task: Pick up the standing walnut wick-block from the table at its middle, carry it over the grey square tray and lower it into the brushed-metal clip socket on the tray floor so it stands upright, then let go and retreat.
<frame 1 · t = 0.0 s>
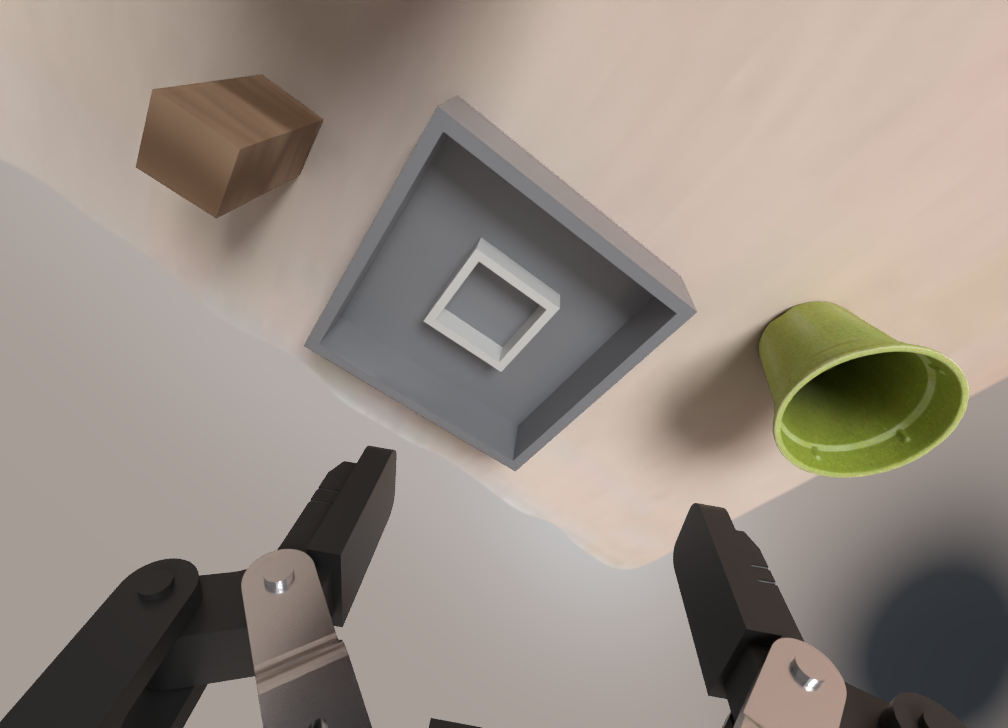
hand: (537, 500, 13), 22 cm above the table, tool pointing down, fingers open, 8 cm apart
grey square tray: (495, 295, 35), on the table
plant pot: (803, 336, 34), on the table
wood wick: (281, 127, 30), on the table
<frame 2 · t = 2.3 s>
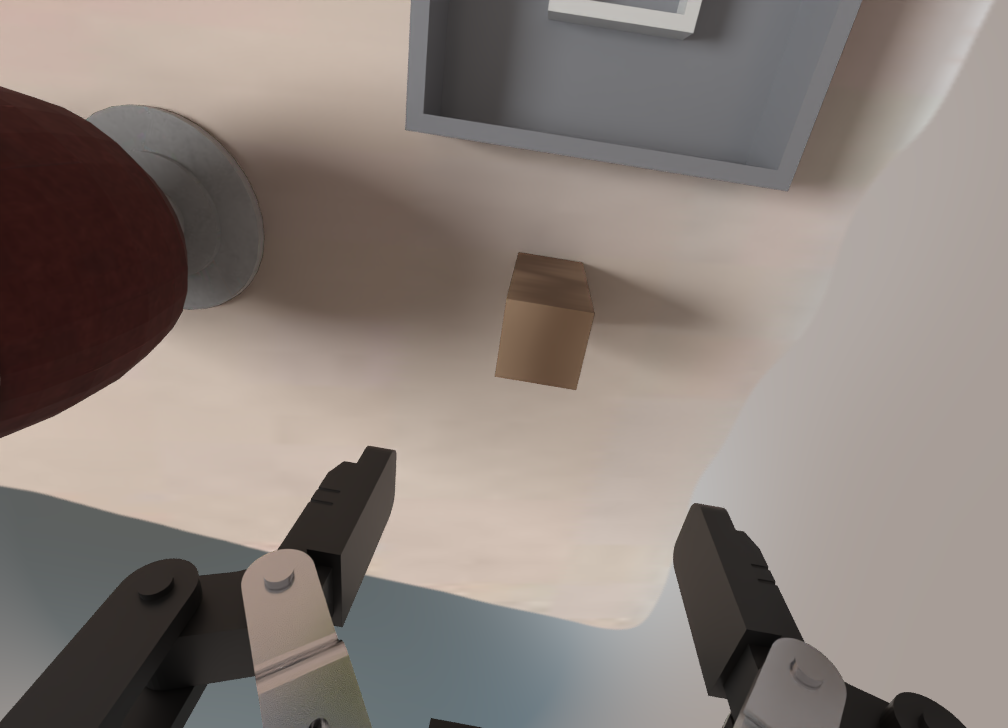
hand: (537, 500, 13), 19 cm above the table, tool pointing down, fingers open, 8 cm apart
mate gourd: (177, 226, 31), on the table
wood wick: (544, 288, 30), on the table
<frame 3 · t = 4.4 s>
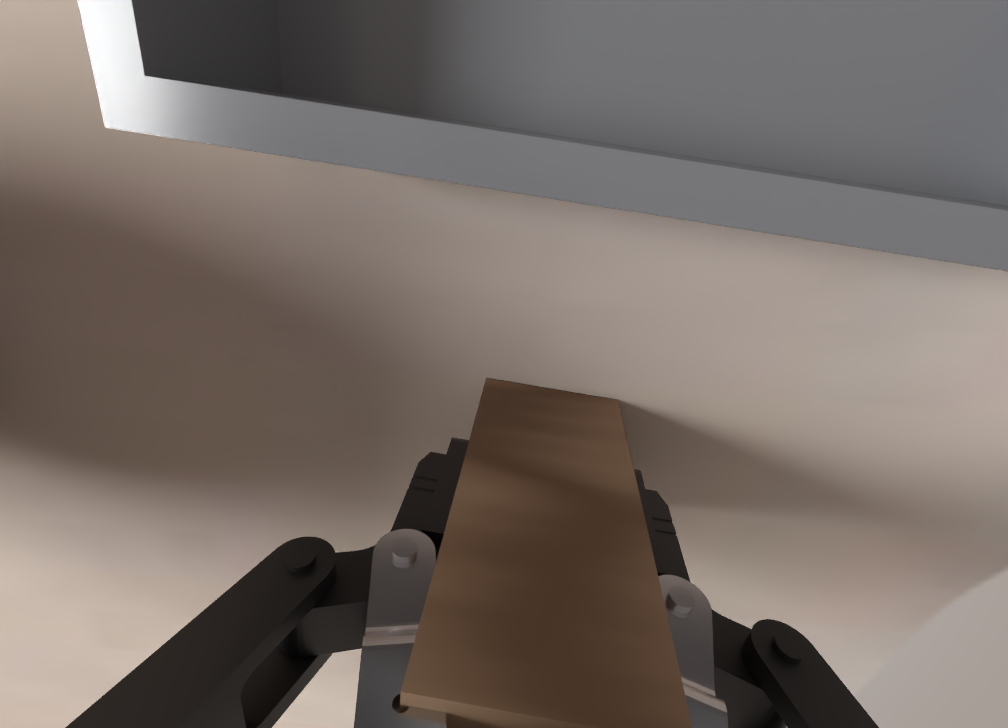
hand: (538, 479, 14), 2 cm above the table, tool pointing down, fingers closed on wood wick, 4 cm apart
wood wick: (540, 442, 15), on the table, touching gripper
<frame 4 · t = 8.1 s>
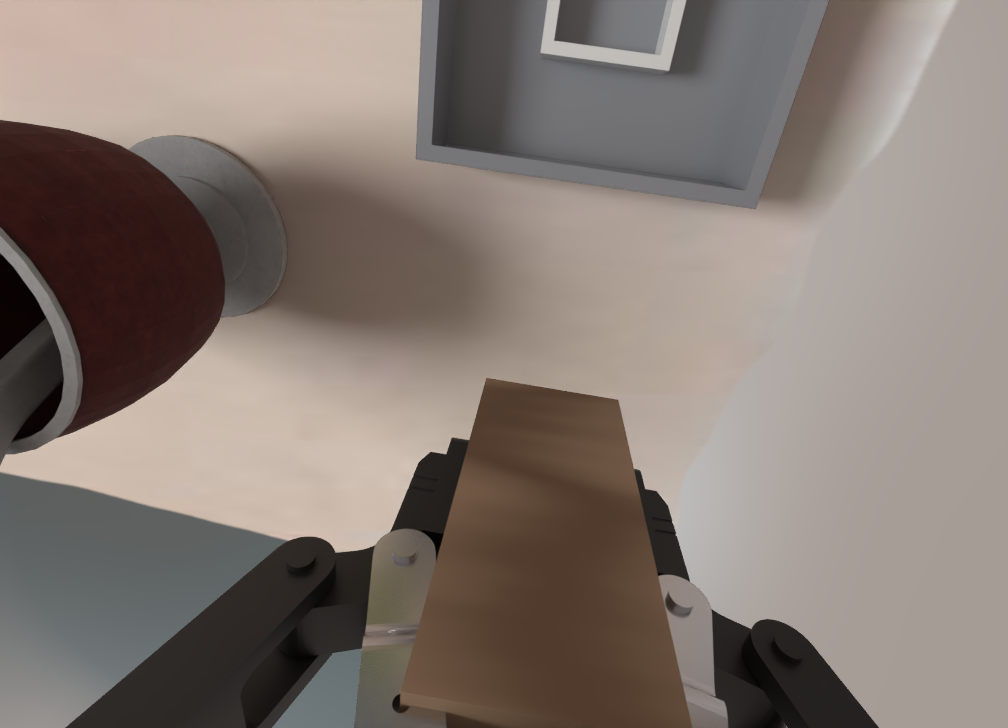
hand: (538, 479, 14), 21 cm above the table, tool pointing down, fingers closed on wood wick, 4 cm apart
mate gourd: (209, 242, 34), on the table
wood wick: (540, 442, 15), point 19 cm above the table, touching gripper
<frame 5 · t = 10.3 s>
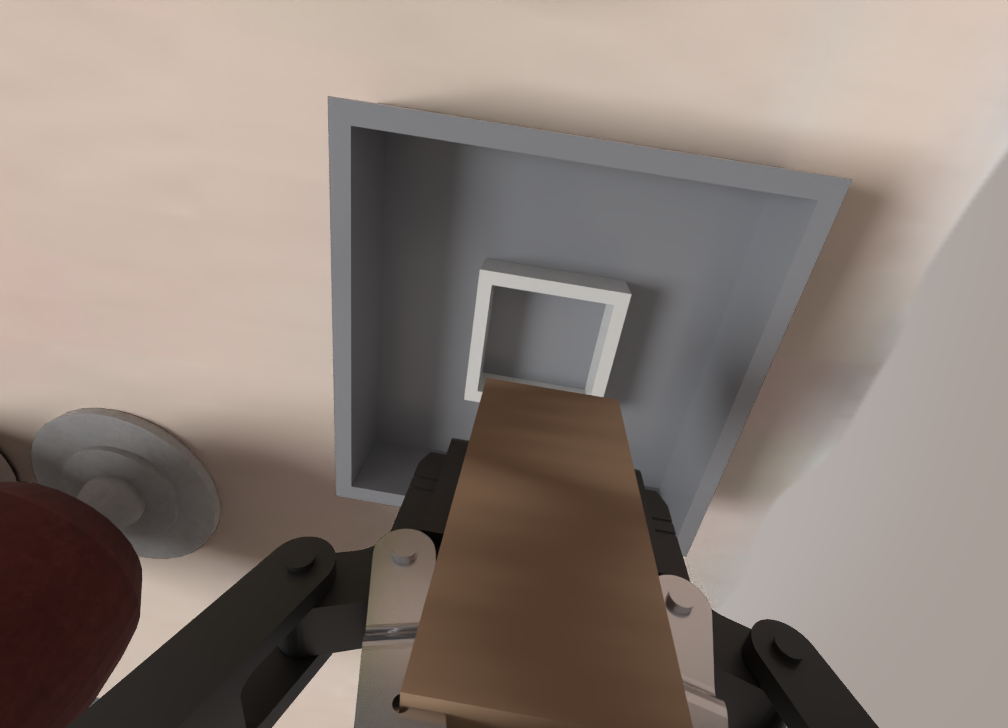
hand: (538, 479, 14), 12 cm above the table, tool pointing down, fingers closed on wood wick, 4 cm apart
grey square tray: (543, 326, 25), on the table
mate gourd: (139, 492, 33), on the table
wood wick: (540, 442, 15), point 11 cm above the table, touching gripper
when the fingers open (4 cm above the table, at t = 12.1 s): wood wick stays where it is, resting on grey square tray.
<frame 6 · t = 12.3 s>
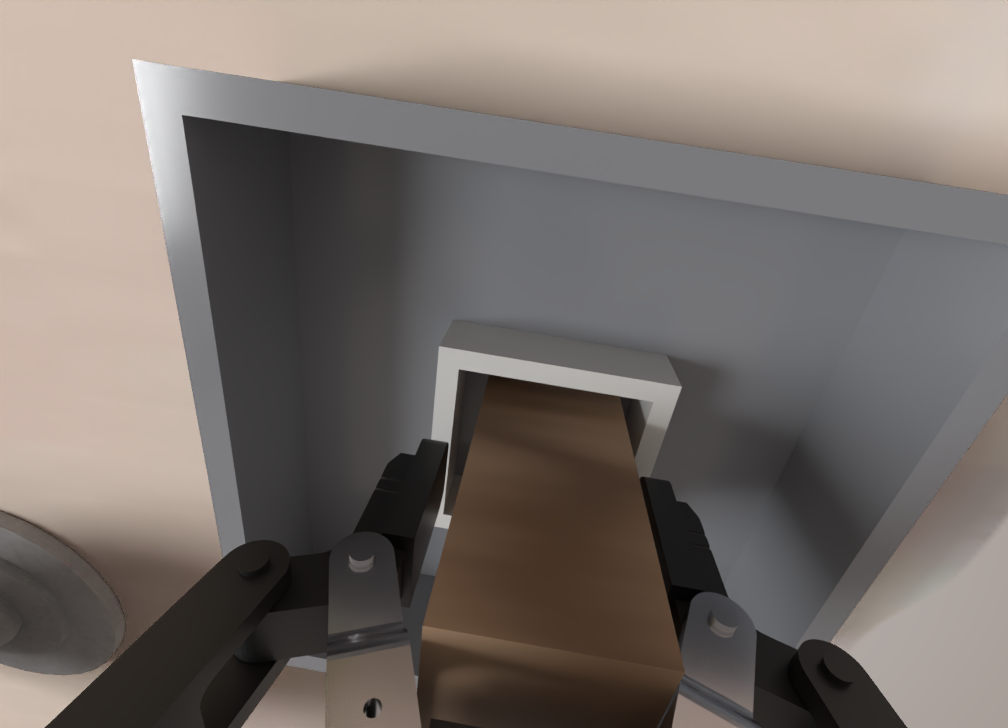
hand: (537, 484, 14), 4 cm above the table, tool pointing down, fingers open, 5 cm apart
grey square tray: (541, 410, 17), on the table
mate gourd: (22, 597, 26), on the table
wood wick: (543, 425, 16), point 1 cm above the table, touching grey square tray
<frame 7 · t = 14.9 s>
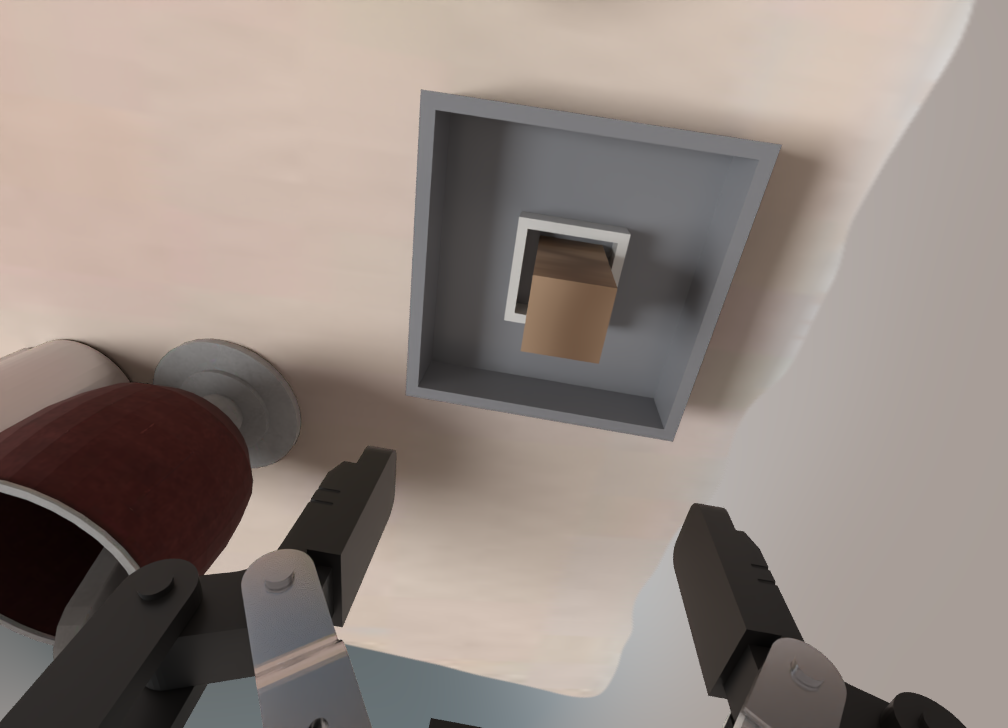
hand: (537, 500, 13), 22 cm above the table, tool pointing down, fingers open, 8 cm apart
grey square tray: (563, 266, 32), on the table
mate gourd: (235, 412, 41), on the table
wood wick: (565, 270, 31), point 1 cm above the table, touching grey square tray
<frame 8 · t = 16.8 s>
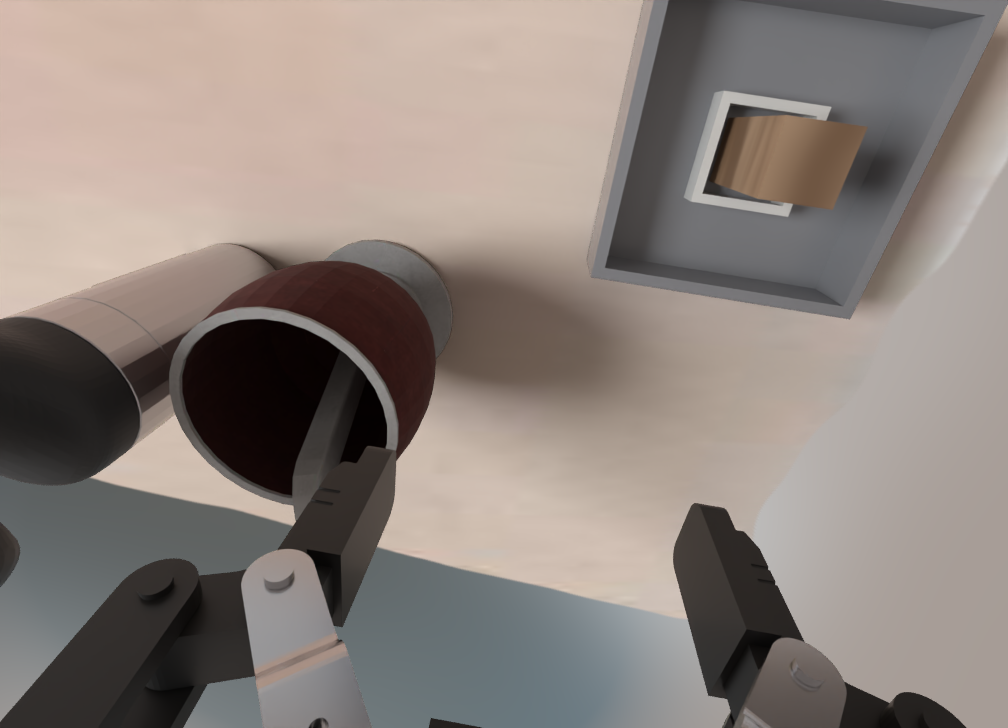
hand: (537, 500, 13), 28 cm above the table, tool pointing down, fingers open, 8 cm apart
grey square tray: (741, 154, 34), on the table
mate gourd: (386, 318, 42), on the table
wood wick: (748, 154, 33), point 1 cm above the table, touching grey square tray
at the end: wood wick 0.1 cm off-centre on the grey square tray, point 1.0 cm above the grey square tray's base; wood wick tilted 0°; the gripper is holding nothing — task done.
